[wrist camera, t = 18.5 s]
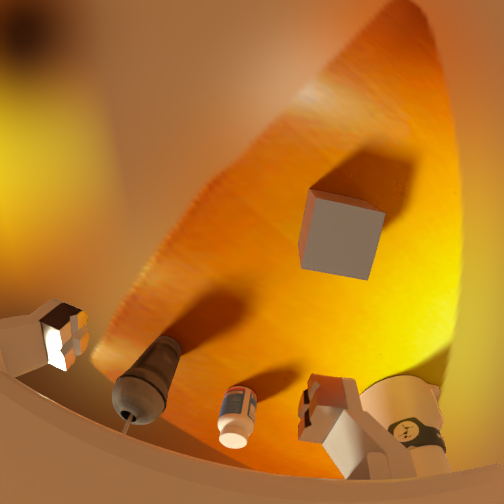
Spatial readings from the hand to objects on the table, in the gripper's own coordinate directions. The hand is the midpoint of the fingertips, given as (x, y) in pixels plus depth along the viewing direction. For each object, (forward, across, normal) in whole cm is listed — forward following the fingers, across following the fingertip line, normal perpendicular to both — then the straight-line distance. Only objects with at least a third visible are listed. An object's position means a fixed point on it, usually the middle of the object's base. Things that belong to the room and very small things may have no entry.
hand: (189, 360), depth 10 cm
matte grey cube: (+29, -9, 0) cm, 31 cm away
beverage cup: (+29, +9, +24) cm, 39 cm away
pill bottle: (+29, -4, +30) cm, 42 cm away
